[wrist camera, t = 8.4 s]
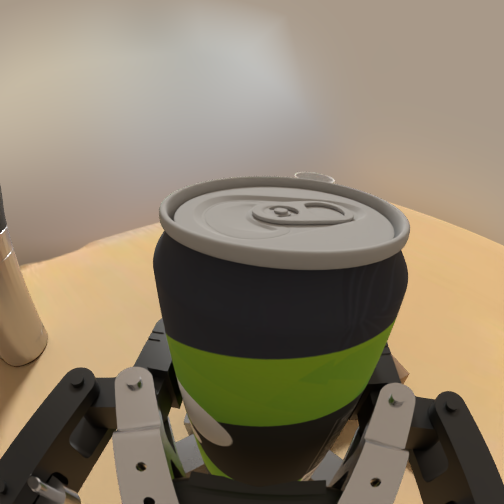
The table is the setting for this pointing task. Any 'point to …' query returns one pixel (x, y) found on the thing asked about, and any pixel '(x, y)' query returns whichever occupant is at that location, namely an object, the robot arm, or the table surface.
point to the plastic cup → (314, 176)
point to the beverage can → (276, 315)
